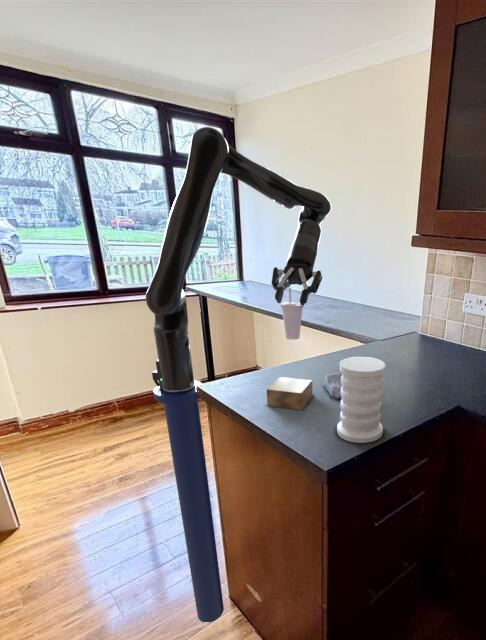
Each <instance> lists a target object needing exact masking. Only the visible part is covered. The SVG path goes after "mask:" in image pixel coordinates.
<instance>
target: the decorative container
mask: <svg viewBox="0 0 486 640" xmlns="http://www.w3.org/2000/svg"><path fill="white" fill-rule="evenodd" d="M386 366H387V365H386V362H385V361H384V360H381V359H378V358H375V357H372V356H371V357H370V356H350V357H346V358H343V359H341V360H340V361H339V370H340V372H341V374H342V376H341V383H342V388H341V391H340V393H341V396H342V399H340V402H339V406H340V409H341V411H340V414H339V419H340V421H339V422H338V423H337V425H336V433H337V435H338V437H340V438H341V439H343V440H345V441H347V442H350V443H357V444H365V443H366V444H367V443H371V442H375V441H377V440H379V439H380V438H382V436H383V433H384V426H383V424H382V423H381V422H380V421H381V418H382V414H381V409H382V406H383V405H382V400H381V399H382V396H383V389H382V386H383V384H384V379H383V378H384V377H383V374H384V373H385V372H386V369H387V368H386Z"/></svg>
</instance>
